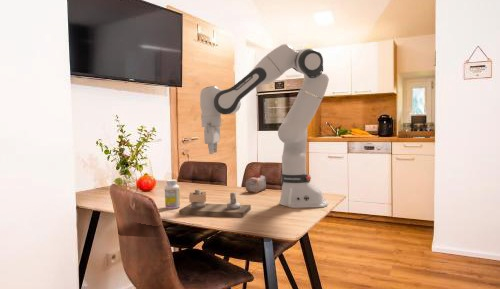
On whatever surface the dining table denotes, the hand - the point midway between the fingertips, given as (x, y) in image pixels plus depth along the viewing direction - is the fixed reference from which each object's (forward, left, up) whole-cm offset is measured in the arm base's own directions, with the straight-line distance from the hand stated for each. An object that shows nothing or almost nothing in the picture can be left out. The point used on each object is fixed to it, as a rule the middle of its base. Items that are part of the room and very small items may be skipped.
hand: (213, 153), depth 163 cm
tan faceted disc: (+5, +8, -20) cm, 22 cm away
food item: (-11, -42, -25) cm, 50 cm away
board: (-3, +8, -25) cm, 27 cm away
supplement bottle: (+20, +2, -25) cm, 32 cm away
